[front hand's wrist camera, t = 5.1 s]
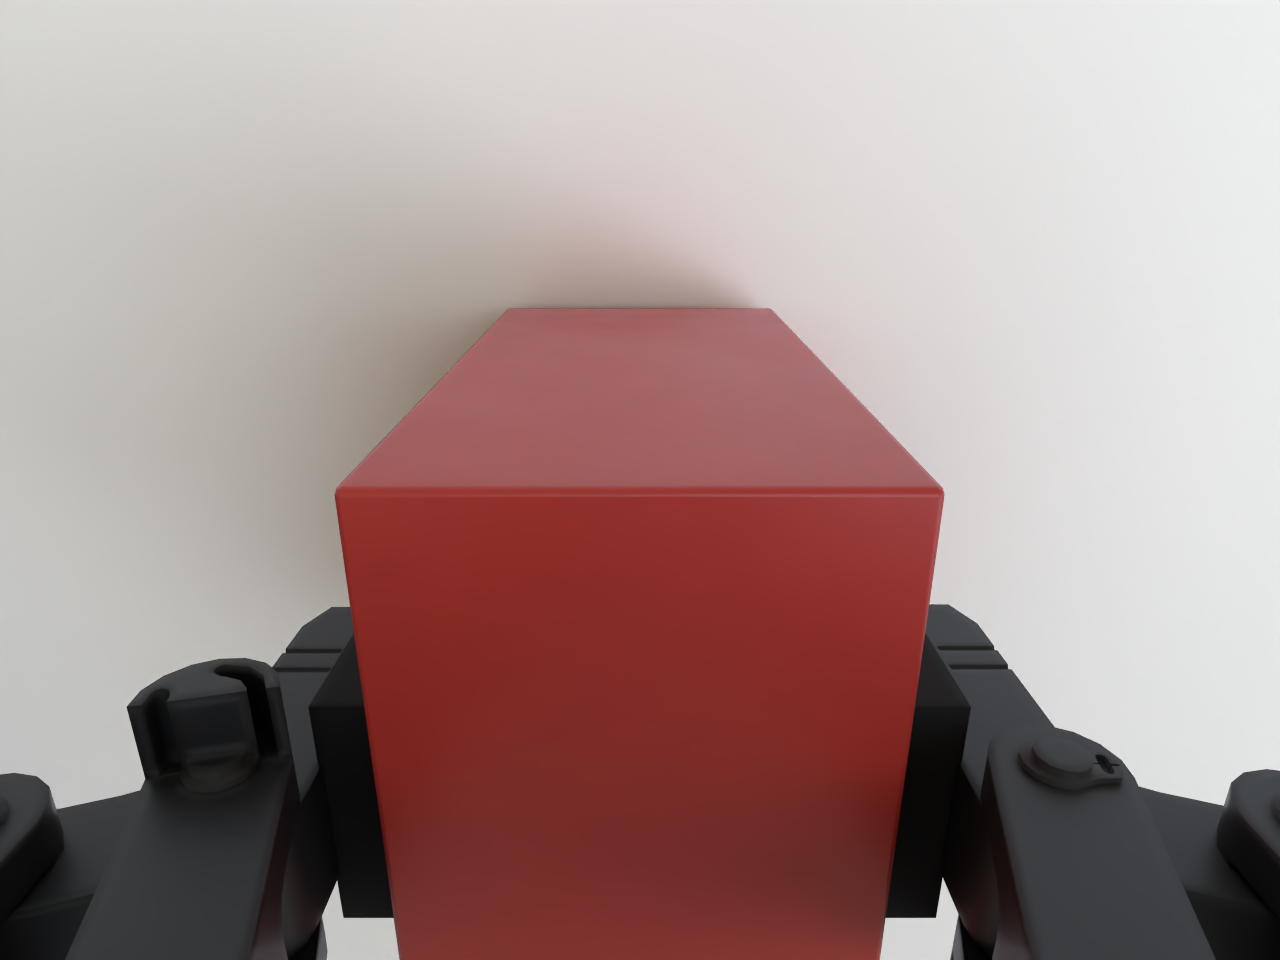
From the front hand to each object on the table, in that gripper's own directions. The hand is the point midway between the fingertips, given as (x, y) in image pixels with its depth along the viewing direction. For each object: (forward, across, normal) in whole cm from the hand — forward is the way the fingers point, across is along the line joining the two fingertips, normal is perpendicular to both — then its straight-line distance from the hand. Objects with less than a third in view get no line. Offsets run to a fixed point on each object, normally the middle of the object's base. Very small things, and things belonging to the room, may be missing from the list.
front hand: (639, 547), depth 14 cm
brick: (+2, 0, 0) cm, 2 cm away
